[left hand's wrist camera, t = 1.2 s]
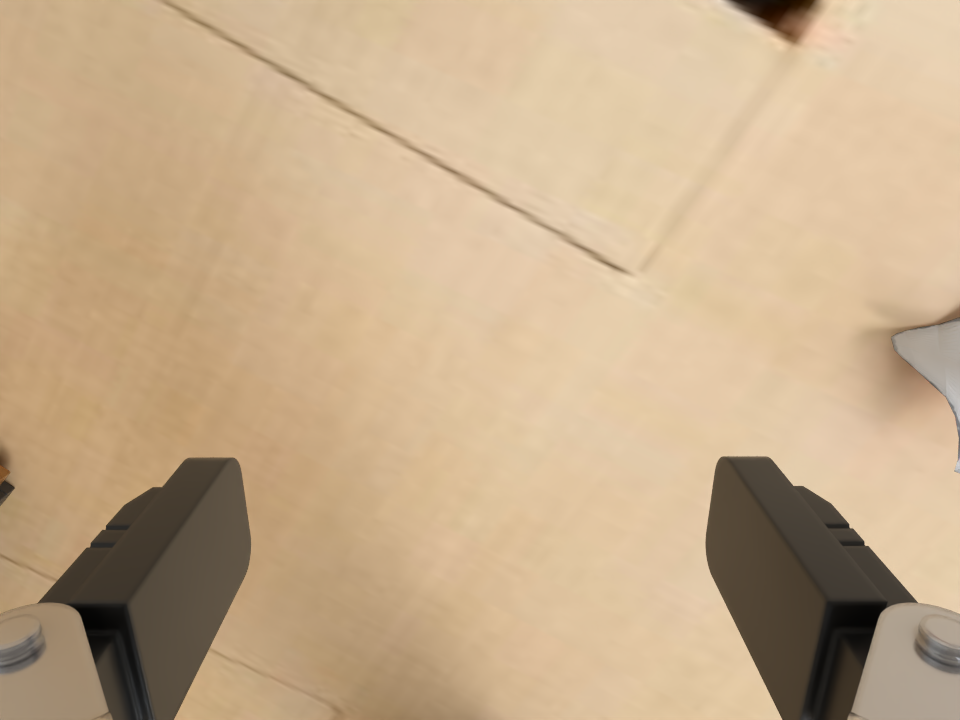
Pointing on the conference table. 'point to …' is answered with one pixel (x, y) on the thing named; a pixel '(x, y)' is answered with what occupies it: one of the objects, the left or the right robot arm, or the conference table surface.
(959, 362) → the fish
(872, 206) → the conference table surface
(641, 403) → the conference table surface
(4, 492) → the cabinet
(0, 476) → the drawer
